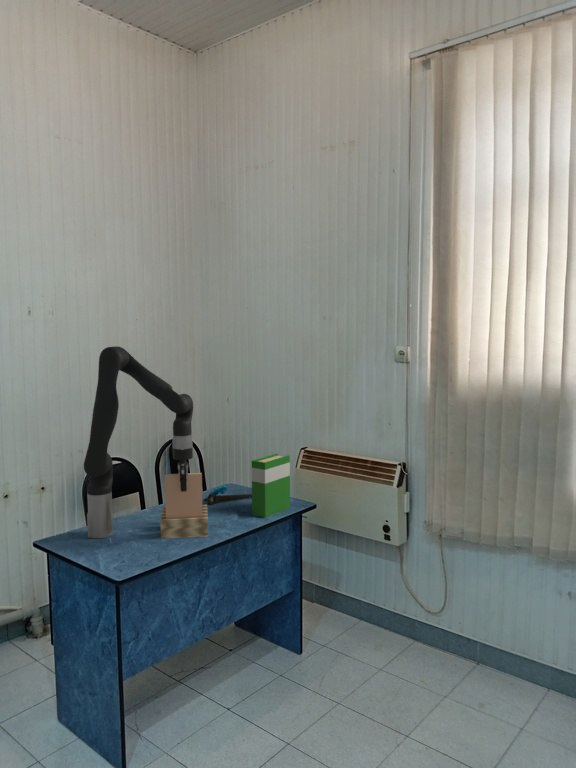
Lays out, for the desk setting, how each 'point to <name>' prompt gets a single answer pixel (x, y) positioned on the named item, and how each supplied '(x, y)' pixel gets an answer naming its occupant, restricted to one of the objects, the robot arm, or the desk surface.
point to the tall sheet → (183, 496)
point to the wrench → (225, 498)
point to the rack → (184, 526)
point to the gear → (218, 492)
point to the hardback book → (270, 485)
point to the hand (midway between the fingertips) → (183, 490)
